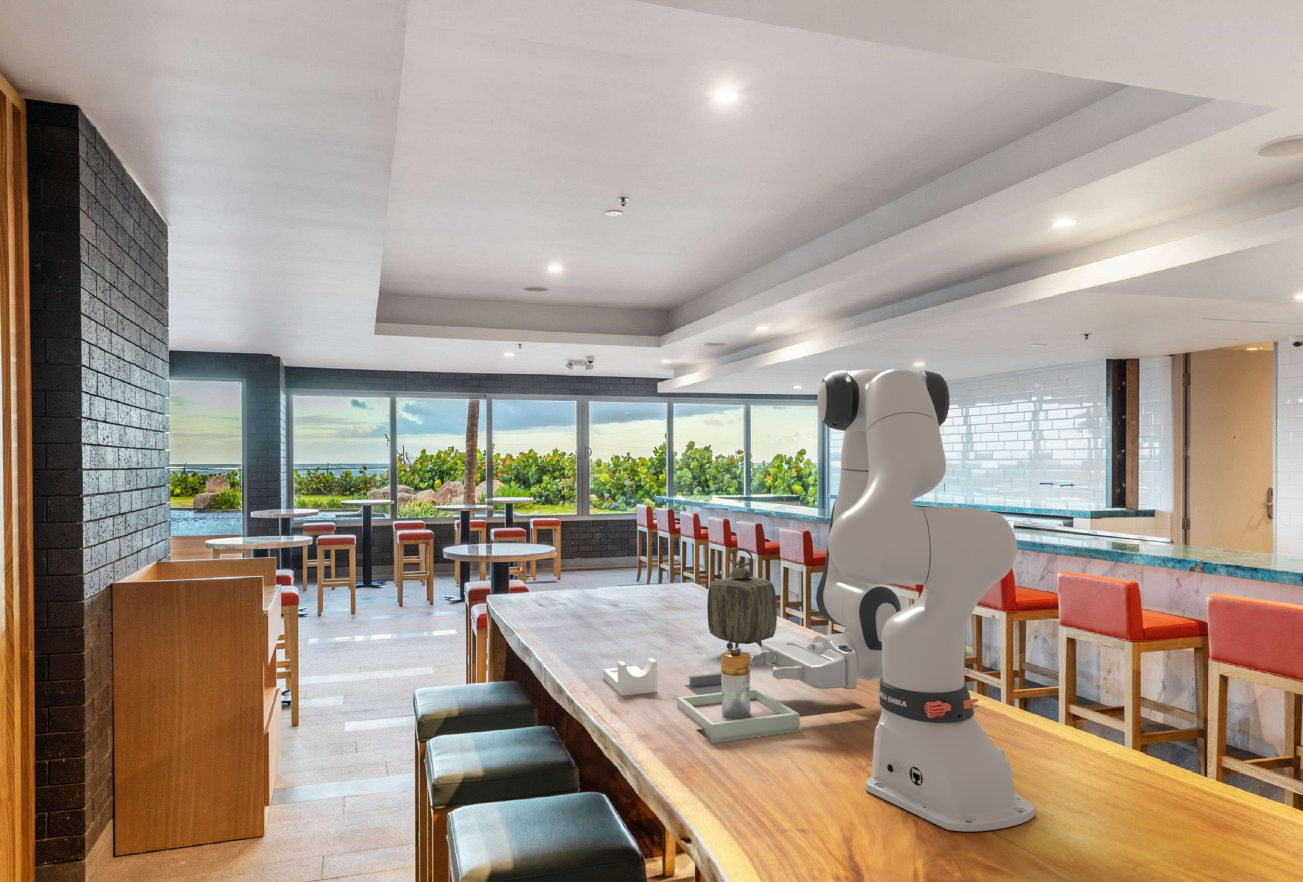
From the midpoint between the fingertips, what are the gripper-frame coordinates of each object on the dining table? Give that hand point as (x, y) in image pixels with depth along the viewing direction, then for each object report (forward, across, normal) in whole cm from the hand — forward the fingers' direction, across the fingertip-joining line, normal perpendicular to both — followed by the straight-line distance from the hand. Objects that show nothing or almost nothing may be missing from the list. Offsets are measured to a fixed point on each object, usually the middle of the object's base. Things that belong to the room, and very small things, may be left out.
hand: (761, 666), depth 144 cm
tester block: (+2, -15, +9) cm, 18 cm away
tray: (+5, 0, +9) cm, 11 cm away
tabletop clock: (-16, -43, +10) cm, 47 cm away
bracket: (+17, -24, +10) cm, 31 cm away
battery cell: (+5, 0, +8) cm, 10 cm away
